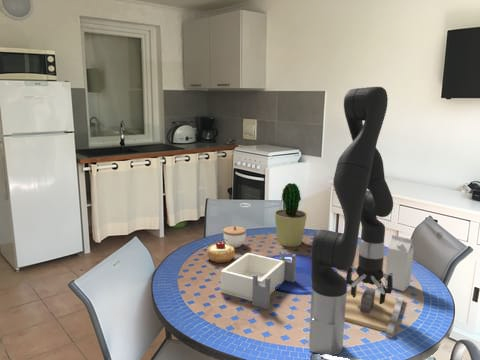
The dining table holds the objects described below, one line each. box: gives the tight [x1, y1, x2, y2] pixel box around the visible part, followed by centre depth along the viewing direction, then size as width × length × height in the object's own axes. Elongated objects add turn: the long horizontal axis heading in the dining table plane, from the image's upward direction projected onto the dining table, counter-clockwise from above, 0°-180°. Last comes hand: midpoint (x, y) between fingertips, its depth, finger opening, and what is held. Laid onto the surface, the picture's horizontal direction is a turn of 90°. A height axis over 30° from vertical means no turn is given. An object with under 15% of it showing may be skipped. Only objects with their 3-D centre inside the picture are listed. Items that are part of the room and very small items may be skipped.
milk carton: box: [384, 234, 415, 292], centre depth 145 cm, size 7×7×19 cm
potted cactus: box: [274, 182, 308, 248], centre depth 188 cm, size 15×15×30 cm
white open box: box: [220, 251, 297, 310], centre depth 143 cm, size 25×20×10 cm
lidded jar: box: [223, 225, 247, 249], centre depth 185 cm, size 11×11×9 cm
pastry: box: [206, 238, 236, 264], centre depth 169 cm, size 12×12×9 cm
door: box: [344, 286, 405, 339], centre depth 128 cm, size 25×18×6 cm
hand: (367, 299), depth 129 cm, fingers open, 8 cm apart
